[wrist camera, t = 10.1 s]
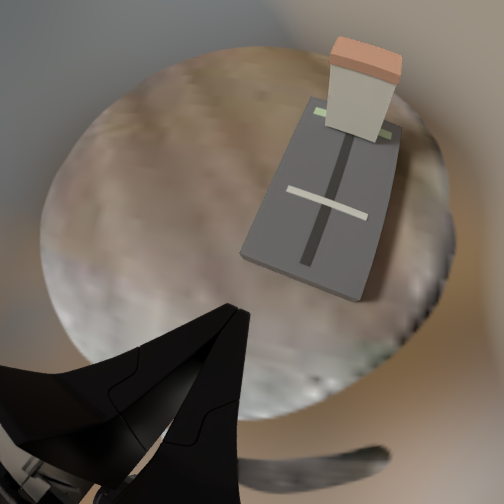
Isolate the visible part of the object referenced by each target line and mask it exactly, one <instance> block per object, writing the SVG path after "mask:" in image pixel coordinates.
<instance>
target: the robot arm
mask: <svg viewBox="0 0 504 504" xmlns="http://www.w3.org/2000/svg"><path fill="white" fill-rule="evenodd" d="M249 322H250V313H249V312H247V311H245V310H243V309H238V307H236V306H234V305H231V304H229V303H226V304H224V305H222V306H220V307H218V308H216V309H214V310H212V311H210V312H208V313H206V314H204V315H202V316H200V317H198V318H196V319H194V320H192V321H190V322H188V323H186V324H184V325H182V326H180V327H178V328H176V329H174V330H172V331H170V332H168V333H166V334H164V335H162V336H160V337H157V338H155V339H153V340H151V341H149V342H147V343H145V344H143V345H141V346H140V347H136V348H134V349H132V350H130V351H127V352H125V353H123V354H120V355H118V356H116V357H113V358H110V359H107V360H105V361H102V362H99V363H95V364H92V365H89V366H86V367H82V368H79V369H76V370H72V371H69V372H65V373H59V374H47V373H39V372H33V371H27V370H21V369H16V368H11V367H6V366H1V365H0V504H79V503H80V501H81V500H82V499H83V498H84V496H85V495H86V494H87V492H88V491H89V490H90V489H91V487H92V486H93V485H94V484H98V485H101V487H100V489H99V490H98V491H97V493H96V495H95V498H94V500H93V504H241V503H240V496H239V486H238V459H237V420H238V410H239V400H240V393H241V386H242V378H243V370H244V362H245V354H246V346H247V338H248V330H249ZM173 419H174V420H173ZM172 420H173V422H172V424H171V426H170V427H169V429H168V431H167V433H166V435H165V437H164V439H163V442H162V443H161V444H160V446H159V448H158V449H157V451H156V453H155V454H154V456H153V457H152V458H151V460H150V461H149V462H148V463H147V464H146V466H145V467H144V468H143V469H142V470H141V471H140V472H139V474H138V475H135V474H134V475H131V476H128V475H129V474H130V472H131V471H132V470H133V469H134V468H135V466H136V465H137V464H138V463H139V461H140V460H141V459H142V458H143V457H144V456H145V454H146V453H147V452H148V450H149V449H150V448H151V447H152V446H153V444H154V443H155V442H156V441H157V439H158V438H159V437H160V435H161V434H162V433H163V432H164V430H165V429H166V428H167V427H168V425H169V424H170V422H171V421H172ZM21 488H22V489H21Z"/></svg>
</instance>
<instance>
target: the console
mask: <svg viewBox="0 0 504 504" xmlns="http://www.w3.org/2000/svg"><path fill="white" fill-rule="evenodd" d="M327 102H328V101H325V100H322V99H318V98H314V97H310V99H309V101H308V104H307V106H306V108H305V110H304V112H303V114H302V116H301V119H300V121H299V123H298V125H297V127H296V129H295V131H294V134H293V136H292V138H291V140H290V142H289V144H288V147H287V149H286V151H285V153H284V155H283V158H282V160H281V162H280V164H279V166H278V168H277V171H276V173H275V175H274V177H273V179H272V182H271V184H270V186H269V188H268V190H267V193H266V195H265V197H264V199H263V201H262V204H261V206H260V208H259V210H258V213H257V215H256V217H255V219H254V221H253V224H252V226H251V228H250V230H249V233H248V235H247V237H246V239H245V242H244V244H243V246H242V248H241V251H240V253H239V254H240V255H241V256H242V258H243V259H245V260H247V261H250V262H252V263H255V264H257V265H260V266H262V267H265V268H267V269H270V270H272V271H275V272H277V273H280V274H283V275H285V276H288V277H290V278H293V279H295V280H298V281H300V282H303V283H305V284H308V285H310V286H313V287H316V288H318V289H321V290H323V291H326V292H328V293H331V294H334V295H336V296H339V297H341V298H344V299H346V300H349V301H352V302H357V301H360V299H361V296H362V293H363V290H364V287H365V284H366V281H367V278H368V275H369V272H370V269H371V266H372V263H373V259H374V256H375V253H376V249H377V246H378V242H379V239H380V235H381V231H382V227H383V223H384V220H385V216H386V211H387V207H388V203H389V199H390V194H391V189H392V185H393V180H394V175H395V169H396V164H397V158H398V152H399V146H400V139H401V132H402V127H400V126H397V125H395V124H393V123H390V122H388V121H385V120H383V123H382V126H381V128H380V131H379V134H378V136H377V139H376V141H375V143H374V142H372V141H369V140H366V139H364V138H361V137H358V136H355V135H353V134H350V133H347V132H344V131H341V130H338V129H335V128H332V127H328V126H325V119H326V111H327Z"/></svg>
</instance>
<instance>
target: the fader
mask: <svg viewBox="0 0 504 504" xmlns="http://www.w3.org/2000/svg"><path fill="white" fill-rule="evenodd" d="M330 64H331V71H330V82H329V92H328V102H327V111H326V119H325V126H328V127H332V128H335V129H338V130H341V131H344V132H347V133H350V134H353V135H355V136H358V137H361V138H364V139H366V140H369V141H372V142H374V143H375V141H376V139H377V136H378V134H379V131H380V128H381V126H382V123H383V120H384V118H385V115H386V112H387V110H388V107H389V104H390V101H391V98H392V95H393V92H394V90H395V87H396V85H398V82H399V79H400V76H401V66H402V56H401V55H398V54H396V53H393V52H390V51H387V50H385V49H382V48H378V47H376V46H372V45H369V44H366V43H363V42H359V41H356V40H352V39H348V38H344V37H340V36H339V37H338V39H337V41H336V43H335V45H334V47H333V49H332V51H331V53H330Z"/></svg>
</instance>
